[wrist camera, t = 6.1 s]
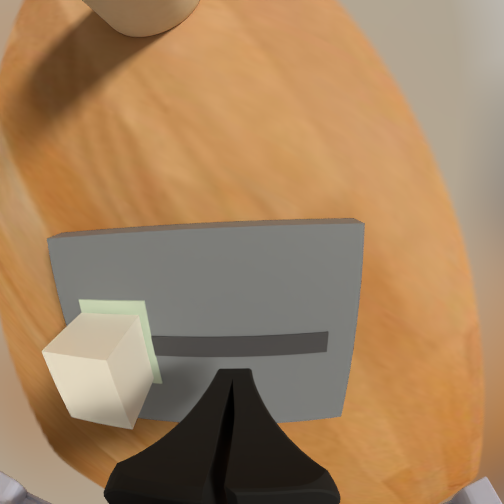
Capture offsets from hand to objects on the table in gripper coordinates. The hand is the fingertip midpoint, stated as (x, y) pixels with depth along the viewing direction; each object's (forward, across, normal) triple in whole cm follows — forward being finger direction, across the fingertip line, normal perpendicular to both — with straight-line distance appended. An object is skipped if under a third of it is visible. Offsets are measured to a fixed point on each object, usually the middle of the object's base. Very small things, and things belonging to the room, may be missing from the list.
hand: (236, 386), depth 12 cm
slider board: (+4, +2, 0) cm, 5 cm away
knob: (+3, +6, 0) cm, 7 cm away
